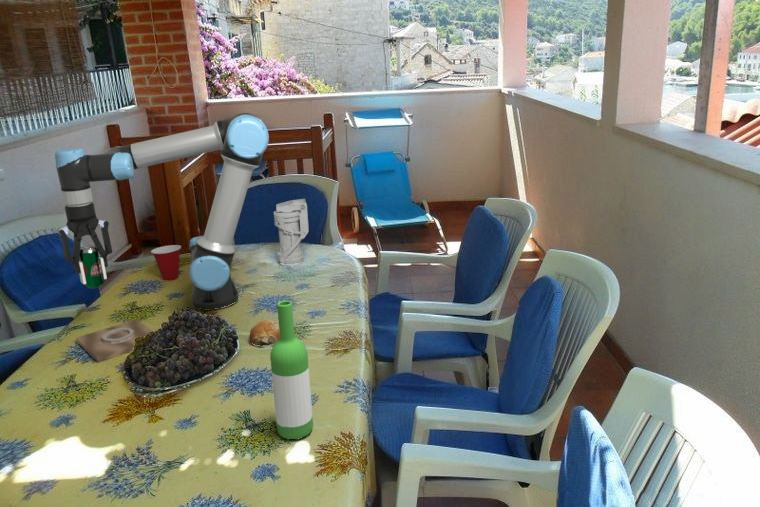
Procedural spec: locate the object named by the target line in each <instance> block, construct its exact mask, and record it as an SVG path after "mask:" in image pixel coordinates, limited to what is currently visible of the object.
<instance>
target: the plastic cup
mask: <svg viewBox="0 0 760 507" xmlns="http://www.w3.org/2000/svg"><path fill="white" fill-rule="evenodd" d="M181 249H182V245H179V244H174V245H173V244H172V245H163V246H160V247H156V248H154V249H152V250H150V252H151V254H152V255H153V257H154V259H155V262H156V265H157V267H158V270H159V273H160V275H161V278H162V281H166V280H168V281H174V280H177V279H178V278H179V276H180V255H181Z"/></svg>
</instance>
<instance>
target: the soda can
mask: <svg viewBox="0 0 760 507" xmlns="http://www.w3.org/2000/svg"><path fill="white" fill-rule="evenodd" d="M99 256H100V254H99V252H98V249H97V248H96V246H95V244H94V245H92V244H91V245H89V244H88V245H85V246H84V245H83V246H82V247H81V246H80V257H79V261H81V262H82V264H83V269H84V274H85V279H86V284H84V285H85V287H86V288H88V289H98V288H100V287H102V286H103V285H104V284H105V281H104V280H105V279H103V275H102V270H101V265H100V259H99Z"/></svg>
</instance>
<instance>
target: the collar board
mask: <svg viewBox="0 0 760 507" xmlns="http://www.w3.org/2000/svg"><path fill="white" fill-rule="evenodd" d="M152 331H154V330H153V329H151V328H150V327H148V325H146V324H144V323H143V322H141V321H140V320H138V319H132V320H129V321H126V322H123V323H120V324H117V325H113V326H110V327H107V328H104V329H100V330H97V331H94V332H89V333H87V334H84V335H83V334H82V335H81V336H76V337H75V341H76V342H75V343H77V344H78V345H79V344H80V345H81V346H82V347H83V348H84V349H85V350H86V351H87V352H88V353H89V354H88V353H87V352H86V351H85V350H84V349H83V348H82V347H81V346H80V345H79V346H80V347H81V348H82V349H83V350H84V351H85V352H86V353H87V354H88V355H89V356H90V357H92V358H93V359H94V361H95V362H97V363H102V362H105V361H108V360H111V359H113V357H114V358H117V357H119V355H120V356H122V354H123V355H125V353H126V354H128V352H129V353H131V352H130V351H132V350H133V347H134V344H135V339H136V338H138V337H144V336H146V335H147V334H148V333H149V332H152ZM132 352H133V351H132ZM116 356H117V357H116ZM110 358H111V359H110ZM104 360H105V361H104ZM101 361H102V362H101Z"/></svg>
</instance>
